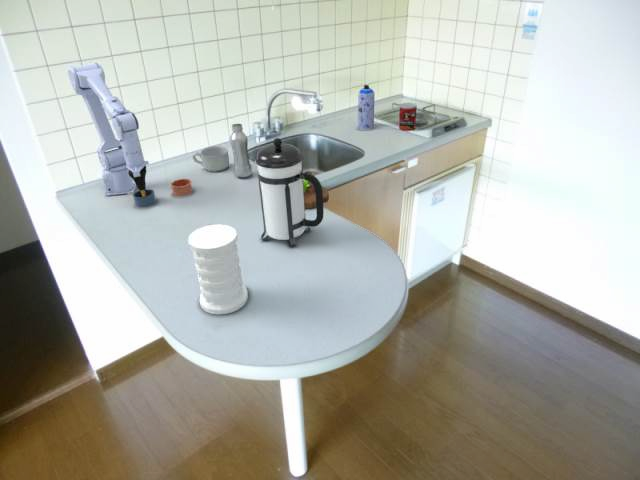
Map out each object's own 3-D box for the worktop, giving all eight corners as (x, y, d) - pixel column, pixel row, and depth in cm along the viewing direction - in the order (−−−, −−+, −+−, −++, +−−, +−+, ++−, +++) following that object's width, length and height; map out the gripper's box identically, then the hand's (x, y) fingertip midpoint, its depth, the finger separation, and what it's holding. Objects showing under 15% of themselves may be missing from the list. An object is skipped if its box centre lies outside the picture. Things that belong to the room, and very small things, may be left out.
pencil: (143, 201, 161) (137, 180, 157) (144, 200, 162) (138, 178, 158) (147, 201, 161) (141, 179, 157) (147, 199, 162) (142, 178, 158)
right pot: (172, 198, 165) (169, 187, 163) (174, 190, 171) (172, 179, 169) (192, 196, 166) (190, 185, 164) (193, 188, 172) (191, 178, 170)
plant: (262, 192, 166) (259, 162, 160) (314, 182, 172) (312, 153, 166) (278, 216, 150) (275, 184, 144) (334, 204, 156) (333, 173, 150)
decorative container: (250, 283, 119) (241, 222, 110) (245, 313, 109) (235, 248, 100) (204, 286, 119) (192, 224, 110) (196, 315, 109) (181, 251, 100)
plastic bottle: (249, 179, 176) (242, 128, 166) (232, 179, 177) (224, 127, 167) (254, 173, 181) (248, 122, 171) (238, 172, 183) (231, 122, 172)
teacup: (233, 164, 190) (231, 145, 186) (226, 174, 181) (223, 155, 177) (200, 164, 192) (197, 145, 188) (192, 174, 183) (188, 155, 178)
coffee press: (266, 254, 131) (254, 152, 115) (257, 227, 144) (245, 133, 128) (325, 243, 134) (321, 143, 119) (311, 218, 148) (306, 125, 132)
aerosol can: (355, 126, 226) (355, 84, 215) (370, 124, 227) (371, 82, 217) (361, 131, 219) (361, 88, 209) (376, 129, 221) (377, 86, 211)
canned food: (397, 130, 218) (398, 107, 213) (400, 125, 225) (401, 102, 219) (414, 131, 216) (415, 107, 211) (416, 126, 223) (417, 103, 217)
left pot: (134, 209, 158) (131, 198, 156) (137, 200, 164) (134, 190, 162) (155, 207, 159) (152, 196, 157) (158, 198, 165) (155, 188, 163)
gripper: (145, 156, 147) (155, 195, 154) (144, 142, 159) (153, 178, 166) (122, 159, 145) (132, 199, 152) (123, 145, 157) (133, 182, 164)
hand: (142, 188), depth 159 cm, fingers closed on pencil, 1 cm apart
